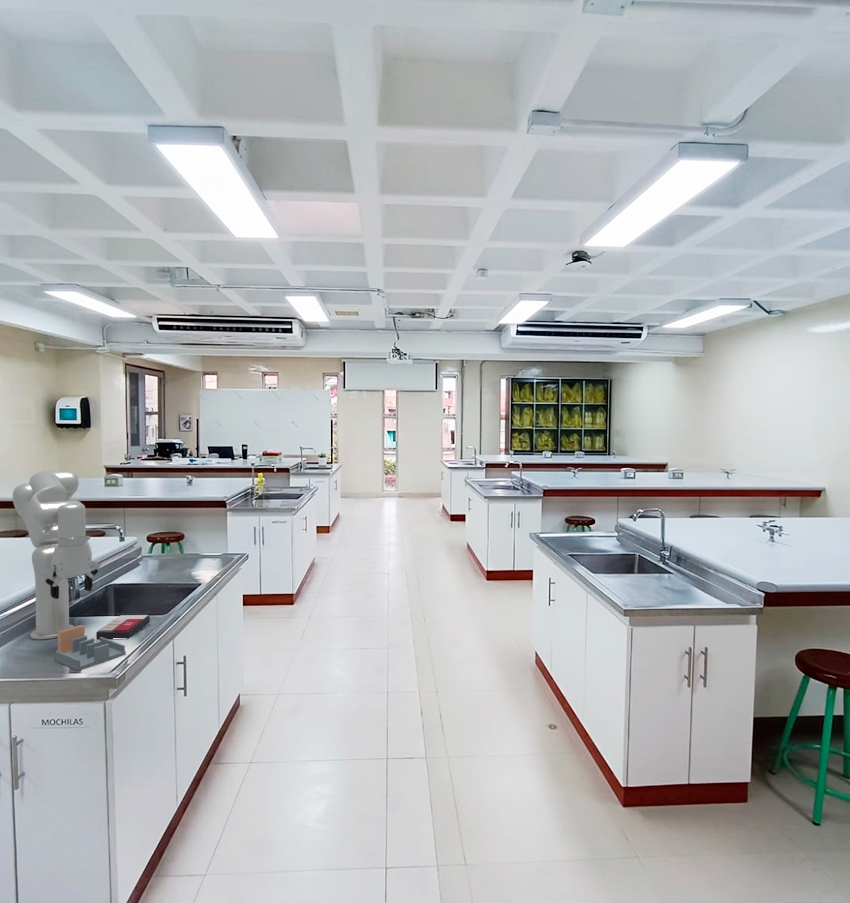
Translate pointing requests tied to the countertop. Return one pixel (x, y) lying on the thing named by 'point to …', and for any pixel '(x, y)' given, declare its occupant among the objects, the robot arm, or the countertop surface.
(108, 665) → the countertop surface
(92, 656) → the rack
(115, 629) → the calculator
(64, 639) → the tile
